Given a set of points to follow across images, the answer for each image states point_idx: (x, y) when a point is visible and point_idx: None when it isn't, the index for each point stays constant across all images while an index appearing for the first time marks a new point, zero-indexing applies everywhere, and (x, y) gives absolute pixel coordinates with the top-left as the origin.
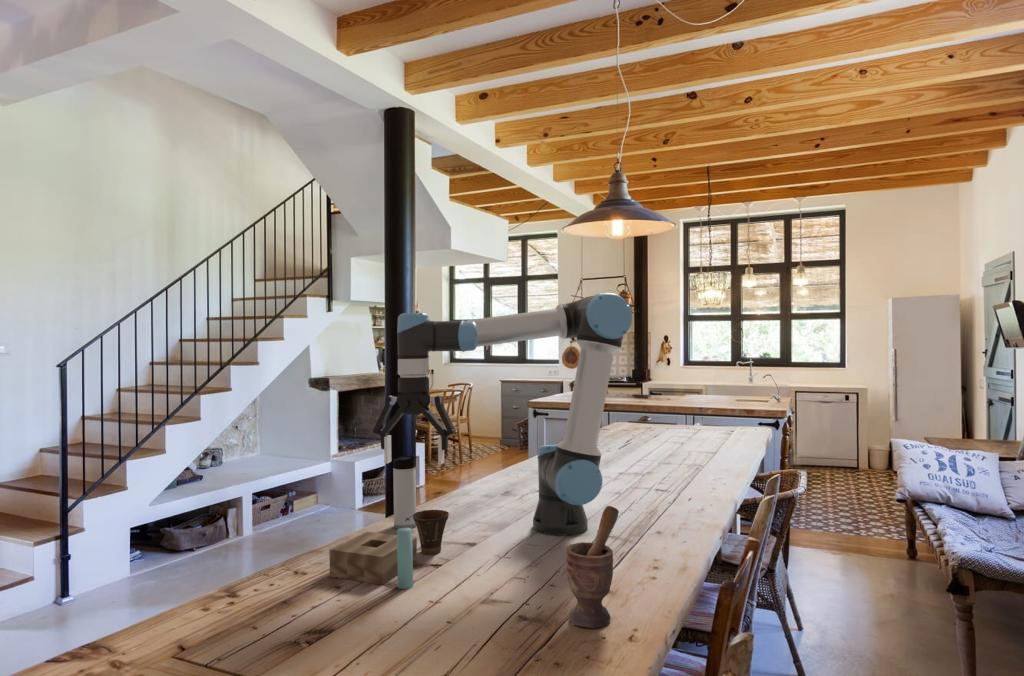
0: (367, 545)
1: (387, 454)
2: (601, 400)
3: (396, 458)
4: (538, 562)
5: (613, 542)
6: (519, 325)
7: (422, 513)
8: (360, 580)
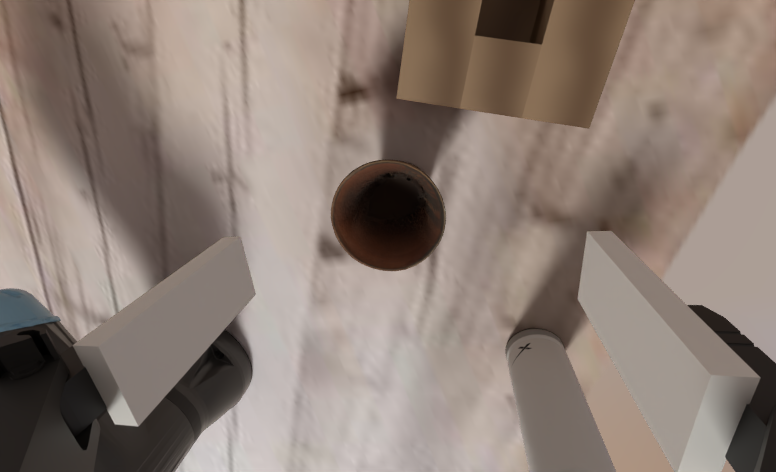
0: (546, 18)
1: (612, 263)
2: None
3: None
4: (147, 157)
5: (79, 290)
6: None
7: (428, 245)
8: None
